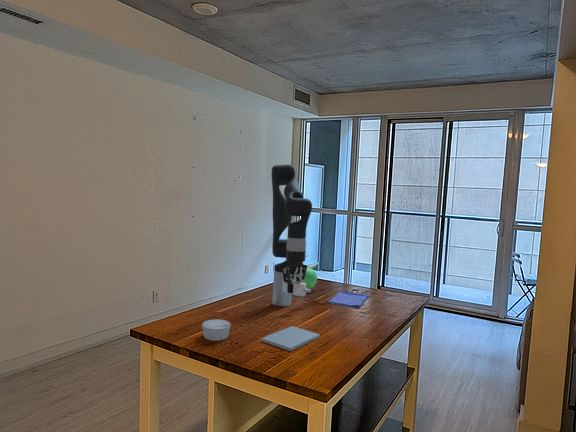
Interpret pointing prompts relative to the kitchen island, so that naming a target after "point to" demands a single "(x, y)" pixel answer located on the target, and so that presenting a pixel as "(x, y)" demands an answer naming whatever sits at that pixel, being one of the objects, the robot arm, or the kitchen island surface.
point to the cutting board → (290, 338)
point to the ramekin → (216, 329)
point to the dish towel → (349, 299)
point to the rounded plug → (296, 288)
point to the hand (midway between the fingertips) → (293, 291)
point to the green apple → (310, 277)
